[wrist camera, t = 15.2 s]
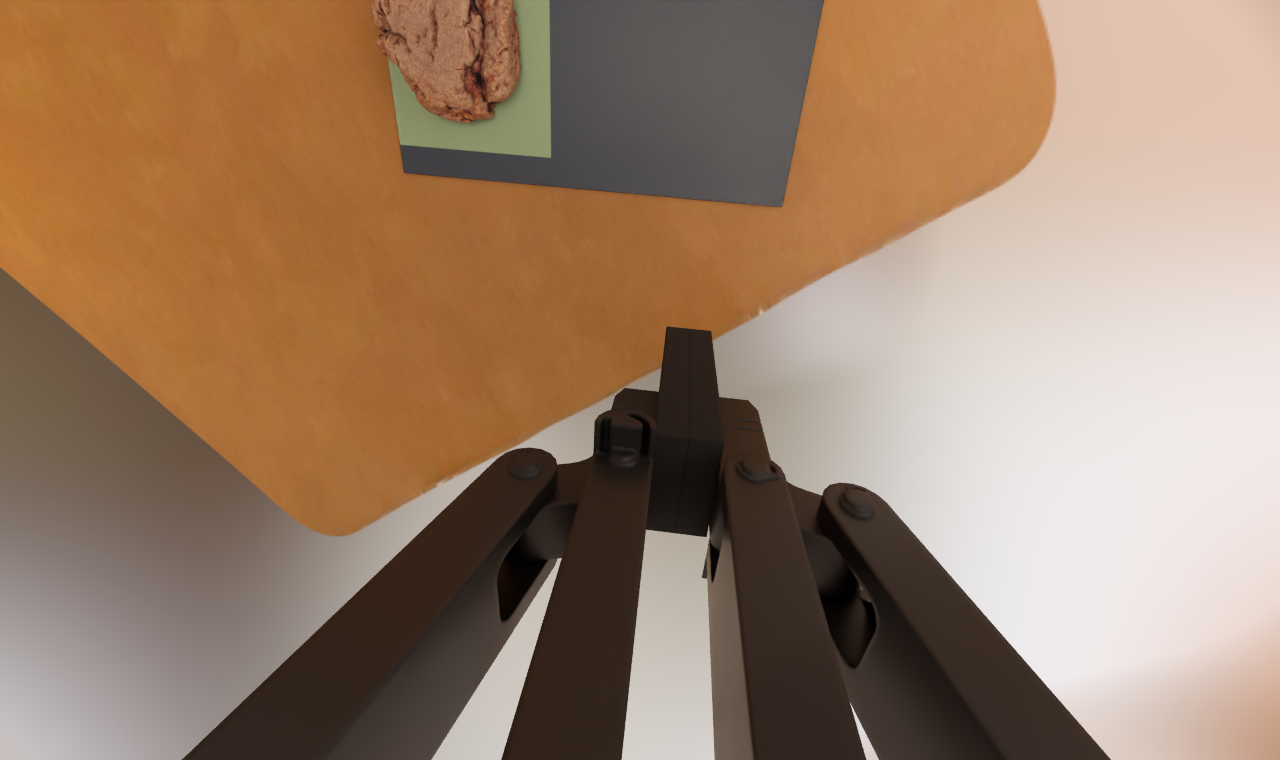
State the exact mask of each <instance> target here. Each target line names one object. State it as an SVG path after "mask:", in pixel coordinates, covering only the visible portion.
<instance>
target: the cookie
mask: <svg viewBox="0 0 1280 760" xmlns="http://www.w3.org/2000/svg"><path fill="white" fill-rule="evenodd" d="M371 13H372V18H373V22H374V25H375V26H376V27H378V29H379V35H377V45H378V47H379V48H380V50H381V51H382V52H383V53H384V55H385V56H387V57H388V58H389V59H390V61H391V62H393V63H394V64H396V65H397V66H398V67H399V69H400V72H401V73H402V74H403V77H404V80H405V82H406V83H407V84H408V85H409V86H410V88H411V90H412V91H413V92H415V94H416V99H417V101H418V102H419V103H420V104H421V106H422V107H423V108H425V109H426V110H427V111H429V112H430V113H433V114H435V115H437V116H439V117H441V118H443V119H448V120H451V121H456V122H465V123H470V122H472V121H474V120H477V119H491V118H492V117H493V115H494V109H493V108H495V107H496V106H495V104H499V103H501V102H503V101H506V100H507V99H508V98H509V97H510V96H511V95H512V93H513V91H514V90H515V87H516V85H517V83H518V81H519V78H520V70H521V67H522V66H521V65H520V50H519V41H520V39H519V32H518V28H517V23H516V19H515V17H517V13H516V12H515V10H514V4H513V0H371Z"/></svg>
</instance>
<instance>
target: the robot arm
mask: <svg viewBox="0 0 1280 760" xmlns="http://www.w3.org/2000/svg"><path fill="white" fill-rule="evenodd" d="M708 526H709V529H710V530H709V531H710V539H709V544H708V550H707V554H706V560H705V565H704V570H703V576H702V578H708V602H709V628H710V653H711V676H712V702H713V726H714V752H715V760H866V757H865V754H864V750H863V747H862V743H861V740H860V737H859V733H858V730H857V726H856V722H855V719H854V716H853V712H852V708H851V705H852V706H853V708H854V711H855V713H856V715H857V717H858V719H859V720H860V723H861V725H862V727H863V729H864V731H865V733H866V734H867V736H868V738H869V740H870V742H871V744H872V746H873V748H874V750H875V752H876V754H877V756H878V758H879V760H1111V759H1110V758H1109V757H1108V756H1107V755H1106V754H1105V753H1104V751H1103V750H1102V749H1101V748H1100V747H1099V746H1098V744H1097V743H1096V742H1095V741H1094V740H1093V739H1092V737H1091V736H1090V735H1089V734H1088V733H1087V732H1086V731H1085V730H1084V728H1083V727H1082V726H1081V725H1080V724H1079V723H1078V721H1077V720H1076V719H1075V718H1074V717H1073V716H1072V715H1071V713H1070V712H1069V711H1068V710H1067V709H1066V708H1065V707H1064V705H1063V704H1062V703H1061V702H1060V701H1059V700H1058V699H1057V697H1056V696H1055V695H1054V694H1053V693H1052V692H1051V691H1050V689H1049V688H1048V687H1047V686H1046V685H1045V684H1044V683H1043V681H1042V680H1041V679H1040V678H1039V677H1038V676H1037V674H1035V672H1034V671H1033V670H1032V669H1031V668H1030V666H1029V665H1028V664H1027V663H1026V662H1025V661H1024V660H1023V658H1022V657H1021V656H1020V655H1019V654H1018V653H1017V652H1016V650H1015V649H1014V648H1013V647H1012V646H1011V645H1010V644H1009V643H1008V641H1007V640H1006V639H1005V638H1004V637H1003V636H1002V634H1001V633H1000V632H999V631H998V630H997V629H996V628H995V627H994V625H993V624H992V623H991V622H990V621H989V620H988V618H987V617H986V616H985V615H984V614H983V613H982V612H981V610H980V609H979V608H978V607H977V606H976V605H975V603H974V602H973V601H972V600H971V599H970V598H969V597H968V596H967V594H966V593H965V592H964V591H963V590H962V589H961V588H960V586H959V585H958V584H957V583H956V582H955V581H954V580H953V578H952V577H951V576H950V575H949V574H948V573H947V571H945V569H944V568H943V567H942V566H941V565H940V563H939V562H938V561H937V560H936V559H935V558H934V557H933V555H932V554H931V553H930V552H929V551H928V550H927V549H926V548H925V546H924V545H923V544H922V543H921V542H920V541H919V539H918V538H917V537H916V536H915V535H914V534H913V532H912V531H911V530H910V529H909V528H908V527H907V526H906V524H905V523H904V522H903V521H902V520H901V519H900V518H899V517H898V515H897V514H896V513H895V512H894V511H893V510H892V508H891V507H890V506H889V505H888V504H887V503H886V502H885V501H884V500H883V499H882V498H880V497H879V496H878V495H876V494H875V493H873V492H871V491H870V490H868V489H866V488H864V487H861V486H858V485H854V484H848V483H837V484H832V485H829V486H828V487H827V488H826V489H825V490H824V492H823V495H822V496H821V495H818V494H815V493H812V492H809V491H806V490H803V489H801V488H798V487H796V486H793V485H792V484H790V483H788V482H787V481H786V478H785V475H784V473H783V471H782V469H781V468H780V467H779V466H778V465H777V464H775V463H774V462H773V461H772V460H771V459H770V455H769V452H768V448H767V444H766V440H765V437H764V433H763V429H762V425H761V423H760V417H759V413H758V410H757V409H756V408H755V407H754V406H753V405H752V404H751V403H750V402H749V401H748V400H740V399H731V398H722V397H719V393H718V384H717V376H716V368H715V360H714V351H713V343H712V335H711V331H705V330H695V329H686V328H676V327H667V328H666V336H665V345H664V353H663V362H662V370H661V379H660V387H659V392H656V391H647V390H638V389H629V388H624V389H623V390H622V391H621V392H619V393H618V394H617V395H616V396H615V398H614V402H613V406H612V409H611V410H609V411H606V412H604V413H602V414H601V415H599V416H598V417H597V419H596V420H595V431H594V453H593V456H592V457H590V458H588V459H586V460H583V461H580V462H575V463H569V464H559V465H557V462H556V459H555V458H554V457H553V456H552V455H551V454H550V453H548V452H546V451H544V450H542V449H536V448H521V449H515V450H512V451H509V452H507V453H505V454H504V455H502V456H501V457H499V458H498V459H497V460H496V461H495V462H493V463H492V464H491V465H490V466H489V468H487V469H486V470H485V471H484V472H483V473H482V474H481V475H480V476H479V477H478V478H477V479H476V480H475V481H474V482H473V483H471V484H470V485H469V487H467V488H466V489H465V490H464V491H463V492H462V493H461V494H460V495H459V496H458V497H457V498H456V499H455V500H454V501H453V502H452V503H450V505H448V506H447V507H446V508H445V509H444V510H443V511H442V512H441V513H440V514H439V515H438V516H437V517H436V518H435V519H434V520H433V521H432V522H431V523H430V524H428V526H426V528H424V529H423V530H422V531H421V532H420V533H419V534H418V535H417V536H416V537H415V538H414V539H413V540H412V541H411V542H410V543H409V544H408V545H407V546H405V547H404V548H403V549H402V550H401V551H400V552H399V553H398V554H397V555H396V556H395V557H394V558H393V559H392V560H391V561H390V562H389V563H388V564H387V565H386V566H384V567H383V568H382V569H381V570H380V571H379V572H378V573H377V574H376V575H375V576H374V577H373V578H372V579H371V580H370V581H369V582H368V583H367V584H366V585H365V586H364V587H362V588H361V589H360V590H359V591H358V592H357V593H356V594H355V595H354V596H353V597H352V598H351V599H350V600H349V601H348V602H347V603H346V604H345V605H344V606H343V607H342V608H341V609H340V610H339V611H337V612H336V613H335V614H334V615H333V616H332V617H331V618H330V619H329V620H328V621H327V622H326V623H325V624H324V625H323V626H322V627H321V628H320V629H318V631H316V632H315V633H314V634H313V635H312V636H311V637H310V638H309V639H308V640H307V641H306V642H305V643H304V644H303V645H302V646H301V647H300V648H299V649H297V650H296V651H295V652H294V653H293V654H292V655H291V656H290V657H289V658H288V659H287V660H286V661H285V662H284V663H283V664H282V665H281V666H280V667H279V668H278V669H277V670H276V671H274V672H273V673H272V674H271V675H270V676H269V677H268V678H267V679H266V680H265V681H264V682H263V683H262V684H261V685H260V686H259V687H258V688H257V689H256V690H255V691H253V693H251V694H250V695H249V696H248V697H247V698H246V699H245V700H244V701H243V702H242V703H241V704H240V705H239V706H238V707H237V708H236V709H235V710H234V711H233V712H231V714H229V715H228V716H227V717H226V718H225V719H224V720H223V721H222V722H221V723H220V724H219V725H218V726H217V727H216V728H215V729H214V730H213V731H212V732H211V733H209V735H207V736H206V737H205V739H203V740H202V741H201V742H200V743H199V744H198V745H197V746H196V747H195V748H194V749H193V750H192V751H191V752H190V753H189V754H188V755H186V756H185V757H184V758H183V759H182V760H431V759H432V758H433V756H434V755H435V753H436V751H437V750H438V748H439V747H440V745H441V743H442V742H443V740H444V739H445V737H446V736H447V734H448V733H449V731H450V729H451V728H452V726H453V724H454V723H455V722H456V720H457V718H458V717H459V715H460V714H461V712H462V711H463V709H464V707H465V706H466V704H467V702H468V701H469V699H470V698H471V696H472V695H473V693H474V692H475V690H476V689H477V687H478V685H479V684H480V682H481V681H482V679H483V678H484V676H485V674H486V673H487V671H488V669H489V668H490V667H491V665H492V663H493V662H494V660H495V659H496V657H497V655H498V654H499V652H500V651H501V649H502V648H503V646H504V645H505V643H506V641H507V640H508V638H509V637H510V635H511V634H512V632H513V630H514V628H515V627H516V626H517V624H518V623H519V621H520V619H521V618H522V616H523V615H524V613H525V612H526V610H527V608H528V607H529V605H530V604H531V602H532V601H533V599H534V597H535V596H536V594H537V593H538V591H539V590H540V588H541V586H542V585H543V583H544V582H545V580H546V579H547V577H548V575H549V574H550V572H551V570H552V569H553V568H554V566H555V563H556V561H557V558H562V560H561V563H560V566H559V570H558V573H557V576H556V580H555V583H554V587H553V590H552V593H551V596H550V600H549V603H548V607H547V610H546V613H545V616H544V620H543V623H542V626H541V630H540V633H539V636H538V640H537V643H536V646H535V650H534V653H533V656H532V660H531V663H530V666H529V669H528V673H527V677H526V679H525V683H524V687H523V689H522V693H521V696H520V700H519V703H518V706H517V710H516V713H515V716H514V719H513V723H512V726H511V729H510V733H509V736H508V739H507V743H506V746H505V749H504V753H503V756H502V760H621V759H622V749H623V748H622V747H623V740H624V739H623V738H624V730H625V721H626V711H627V702H628V692H629V683H630V674H631V673H630V672H631V664H632V655H633V645H634V635H635V627H636V616H637V608H638V598H639V589H640V579H641V570H642V560H643V551H644V542H645V532H646V529H647V530H654V531H663V532H670V533H679V534H686V535H694V536H702V537H706V536H707V531H708ZM850 703H851V705H850Z"/></svg>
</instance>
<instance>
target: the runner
mask: <svg viewBox="0 0 1280 760" xmlns="http://www.w3.org/2000/svg"><path fill="white" fill-rule="evenodd" d="M823 2H824V0H513V4H514V10H515V12H516V13H517V17H515V19H516V23H517V28H518V32H519V39H520V41H519V50H520V65H521V66H522V67H521V70H520V78H519V81H518V83H517V85H516V87H515V90H514V91H513V93H512V95H511V96H510V97H509V98H508V99H507V100H506V101H503V102H501V103H499V104H495V106H496V107H495V108H493V109H494V115H493V117H492V118H491V119H477V120H474V121H472V122H470V123H465V122H456V121H451V120H448V119H443V118H441V117H439V116H437V115H435V114H433V113H430V112H429V111H427V110H426V109H425V108H423V107H422V106H421V104H420V103H419V102H418V101H417V99H416V94H415V92H413V91H412V90H411V88H410V86H409V85H408V84H407V83H406V82H405V80H404V77H403V74H402V73H401V72H400V69H399V67H398V66H397V65H396V64H394V63H393V62H391V61H390V59H389V58H388V63H389V71H390V78H391V85H392V92H393V99H394V106H395V113H396V120H397V127H398V134H399V141H400V148H401V155H402V162H403V169H404V173H411V174H422V175H433V176H444V177H455V178H466V179H477V180H488V181H499V182H511V183H522V184H533V185H544V186H555V187H566V188H577V189H588V190H599V191H610V192H621V193H632V194H643V195H654V196H665V197H676V198H687V199H698V200H709V201H720V202H731V203H743V204H754V205H765V206H776V207H782V204H783V199H784V194H785V190H786V185H787V180H788V175H789V170H790V165H791V160H792V155H793V150H794V145H795V140H796V135H797V130H798V125H799V120H800V116H801V111H802V106H803V101H804V96H805V91H806V86H807V81H808V76H809V71H810V66H811V61H812V56H813V51H814V46H815V42H816V37H817V32H818V27H819V22H820V17H821V12H822V7H823Z"/></svg>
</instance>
